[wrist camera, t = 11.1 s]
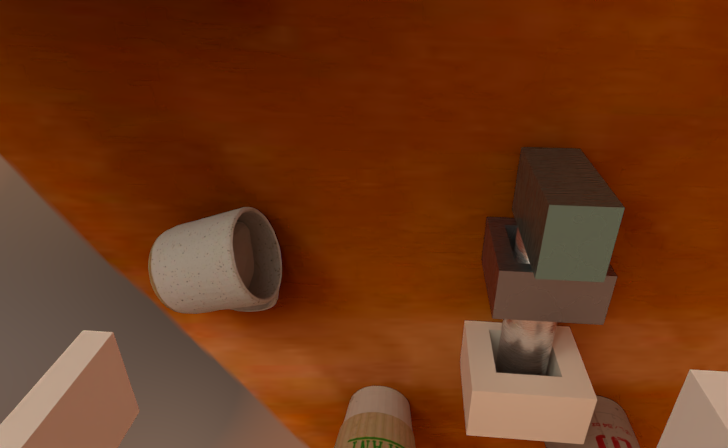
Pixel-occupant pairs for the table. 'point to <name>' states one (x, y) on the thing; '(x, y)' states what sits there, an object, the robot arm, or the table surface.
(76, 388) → the robot arm
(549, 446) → the thermos bottle
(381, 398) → the coffee cup
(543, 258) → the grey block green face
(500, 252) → the square hollow collar
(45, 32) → the table surface
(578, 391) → the socket block
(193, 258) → the ceramic mug
